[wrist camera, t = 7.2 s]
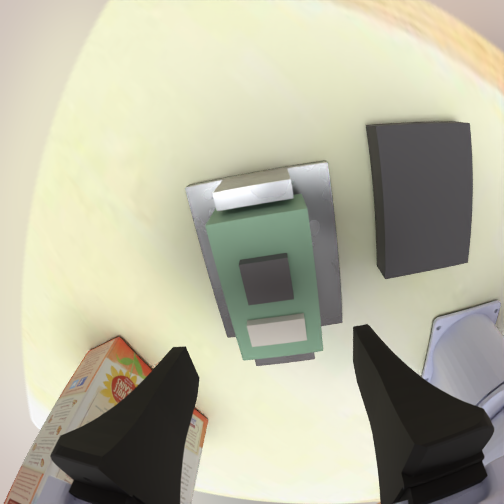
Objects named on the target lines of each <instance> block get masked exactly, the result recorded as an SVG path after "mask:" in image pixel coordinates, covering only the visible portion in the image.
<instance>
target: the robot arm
mask: <svg viewBox="0 0 504 504" xmlns="http://www.w3.org/2000/svg"><path fill="white" fill-rule="evenodd" d="M500 306H501V303H500V302H499V301H498V300H496V301H493V302H490V303H487V304H483V305H480V306H477V307H473V308H470V309H466V310H463V311H459V312H455V313H452V314H448V315H444V316H440V317H437V318H436V319H435V320H434V322H433V328H432V333H431V338H430V343H429V348H428V353H427V357H426V362H425V366H424V370H423V374H422V377H421V376H419V375H418V374H417V373H416V372H414V371H413V370H412V369H411V368H410V367H408V366H407V365H406V364H405V363H404V362H403V361H402V360H401V359H400V358H399V357H397V356H396V355H395V354H394V353H393V352H392V351H391V350H390V349H389V348H388V346H387V345H386V344H385V343H384V342H383V341H382V340H381V339H380V338H379V337H378V335H377V334H376V333H375V332H374V331H373V329H372V328H371V327H370V326H369V325H368V324H366V325H361V326H355V327H353V363H354V369H355V374H356V379H357V383H358V386H359V389H360V392H361V396H362V399H363V402H364V405H365V408H366V411H367V415H368V418H369V421H370V425H371V429H372V434H373V440H374V446H375V453H376V460H377V467H378V476H379V486H380V500H381V504H504V336H503V335H502V334H501V332H500V331H499V330H498V328H497V327H496V326H495V324H496V320H497V317H498V313H499V309H500ZM438 326H439V327H438ZM198 386H199V376H198V374H197V372H196V369H195V367H194V365H193V363H192V360H191V358H190V356H189V353H188V351H187V349H186V347H173V348H172V349H171V350H170V351H169V352H168V353H167V355H166V356H165V357H164V358H163V359H162V360H161V361H160V362H159V364H158V365H157V366H156V367H155V368H154V369H153V370H152V371H151V372H150V373H149V375H148V376H147V377H146V378H145V379H144V380H143V381H142V382H141V383H140V384H139V385H138V386H137V387H136V388H135V389H134V390H133V391H132V392H131V393H129V394H128V395H127V396H126V397H125V398H124V399H123V400H121V401H120V402H119V403H118V404H116V405H115V406H114V407H112V408H111V409H109V410H108V411H107V412H105V413H104V414H102V415H101V416H99V417H98V418H96V419H94V420H93V421H91V422H89V423H87V424H85V425H83V426H81V427H79V428H77V429H75V430H73V431H70V432H68V433H65V434H63V435H60V437H59V439H58V441H57V443H56V445H55V447H54V449H53V451H52V453H51V455H50V457H51V460H52V461H53V462H54V463H55V464H56V465H57V466H58V467H59V468H60V469H61V470H62V471H63V472H65V473H66V474H67V475H68V476H69V477H71V478H72V479H73V483H72V484H70V483H68V482H66V481H64V480H61V479H59V478H56V477H54V476H51V475H49V476H48V478H47V481H46V483H45V485H44V487H43V489H42V492H41V494H40V496H39V499H38V501H37V503H36V504H180V492H181V474H182V464H183V455H184V448H185V442H186V437H187V433H188V430H189V426H190V422H191V419H192V415H193V411H194V407H195V404H196V400H197V394H198Z"/></svg>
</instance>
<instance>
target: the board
mask: <svg viewBox="0 0 504 504" xmlns="http://www.w3.org/2000/svg"><path fill="white" fill-rule="evenodd" d="M293 196H294V198H293V199H286V200H280V201H274V202H268V203H262V204H256V205H250V206H244V207H239V208H233V209H228V210H222V211H217V210H216V209H215V210H214V212H213V213H212V215H211V217H210V218H209V220H208V222H207V223H206V225H205V227H206V231H207V234H208V238H209V242H210V246H211V249H212V253H213V257H214V261H215V264H216V268H217V272H218V275H219V279H220V282H221V286H222V290H223V293H224V297H225V300H226V304H227V307H228V311H229V314H230V318H231V321H232V324H233V328H234V331H235V335H236V338H237V341H238V345H239V348H240V351H241V355H242V358H243V360H253V359H263V358H272V357H281V356H289V355H297V354H304V353H311V352H318V351H323V343H322V331H321V320H320V309H319V299H318V289H317V280H316V271H315V263H314V255H313V247H312V239H311V231H310V224H309V217H308V210H307V206H306V204H305V201H304V198H303V196H302V194H296V195H293Z"/></svg>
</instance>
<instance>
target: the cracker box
mask: <svg viewBox="0 0 504 504" xmlns="http://www.w3.org/2000/svg"><path fill="white" fill-rule="evenodd" d="M151 371H152V369H151V368H150V367H148V366H147V365H146V364H145V363H144V362H143V361H142V360H141V358H140V357H139V356H138V355H137V354H136V353H135V352H134V351H133V350H132V349H131V348H130V347H129V346H128V345H127V344H126V343H125V342H124V341H123V340H122V339H121V338H120V337H117V338H115V339H113V340H111V341H109V342H107V343H105V344H103V345H100V346H98V347H96V348H94V349H92V350H90V351H88V353H87V354H86V356H85V357H84V359H83V360H82V362H81V363H80V365H79V366H78V368H77V370H76V371H75V373H74V374H73V376H72V377H71V379H70V381H69V382H68V384H67V385H66V387H65V389H64V390H63V392H62V394H61V395H60V397H59V399H58V400H57V402H56V404H55V405H54V407H53V409H52V411H51V412H50V414H49V416H48V418H47V419H46V421H45V423H44V425H43V427H42V428H41V430H40V432H39V434H38V436H37V437H36V439H35V441H34V443H33V445H32V447H31V449H30V450H29V452H28V454H27V456H26V458H25V460H24V462H23V464H22V466H21V468H20V470H19V472H18V474H17V476H16V478H15V480H14V482H13V485H12V487H11V489H10V491H9V493H8V495H7V498H6V500H5V502H4V504H36V503H37V501H38V499H39V496H40V494H41V492H42V489H43V487H44V485H45V483H46V481H47V478H48V476H49V475H51V476H54V477H56V478H59V479H61V480H64V481H66V482H68V483H70V484H72V483H73V479H72V478H71V477H69V476H68V475H67V474H66V473H65V472H63V471H62V470H61V469H60V468H59V467H58V466H57V465H56V464H55V463H54V462H53V461H52V460H51V457H50V455H51V453H52V451H53V449H54V447H55V445H56V443H57V441H58V439H59V437H60V435H63V434H65V433H68V432H70V431H73V430H75V429H77V428H79V427H81V426H83V425H85V424H87V423H89V422H91V421H93V420H94V419H96V418H98V417H99V416H101V415H102V414H104V413H105V412H107V411H108V410H109V409H111V408H112V407H114V406H115V405H116V404H118V403H119V402H120V401H121V400H123V399H124V398H125V397H126V396H127V395H128V394H129V393H131V392H132V391H133V390H134V389H135V388H136V387H137V386H138V385H139V384H140V383H141V382H142V381H143V380H144V379H145V378H146V377H147V376H148V375H149V373H150V372H151ZM207 423H208V419H207V418H205V417H204V416H203V415H202V414H200V413H199V412H198V411H197V410H196V409H194V411H193V415H192V419H191V422H190V426H189V430H188V433H187V437H186V442H185V448H184V455H183V464H182V474H181V492H180V504H191V502H192V496H193V492H194V487H195V482H196V477H197V472H198V467H199V462H200V457H201V452H202V447H203V443H204V438H205V433H206V428H207Z"/></svg>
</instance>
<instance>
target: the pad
mask: <svg viewBox="0 0 504 504" xmlns="http://www.w3.org/2000/svg"><path fill="white" fill-rule="evenodd" d="M366 129H367V136H368V144H369V152H370V160H371V169H372V180H373V191H374V204H375V220H376V243H377V267H378V268H379V270H380V271H381V273H382V275H383V276H384V278H385V279H389V278H394V277H399V276H405V275H410V274H415V273H420V272H425V271H430V270H435V269H440V268H444V267H449V266H454V265H459V264H463V263H468V255H469V246H470V235H471V221H472V196H473V171H472V146H471V132H470V123H463V122H409V123H390V124H375V125H366Z"/></svg>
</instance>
